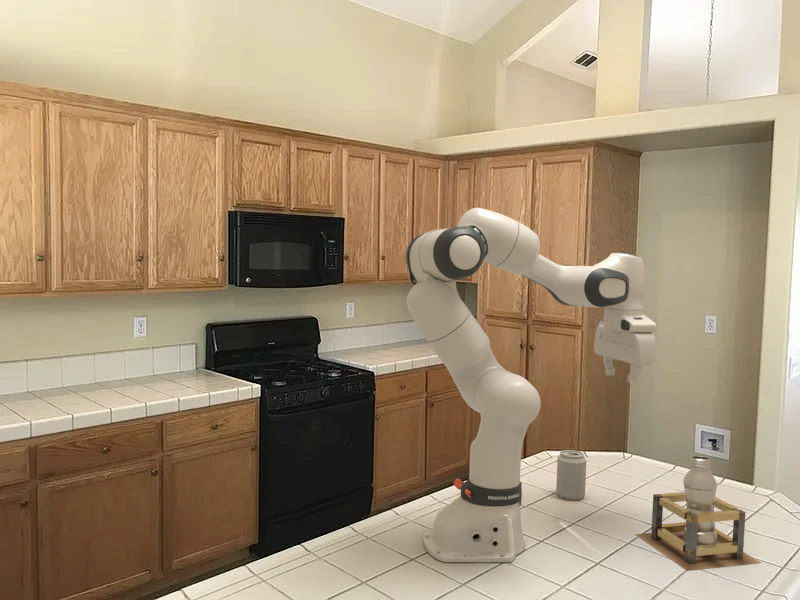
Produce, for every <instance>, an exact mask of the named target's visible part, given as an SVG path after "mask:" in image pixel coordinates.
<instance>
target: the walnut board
mask: <svg viewBox="0 0 800 600" xmlns="http://www.w3.org/2000/svg"><path fill="white" fill-rule="evenodd" d="M672 534H673V535H675V536H677V537H678V538H680V539H681V540H683V541H684V538H683V536H684V532H675V533H672ZM634 535H635V536H636V537H638V538H639V539H641V540H642V541H644V542H645V543H647V544H648V545H649V546H651V547H652V548H653V549H654V550H657V551H658V552H659V553H660V554H662V555H664V556H665V557H666V558H667V559H670V560H671V561H672V562H674V563H675V564H676V565H677V566H679V567H680V568H682V569H684V570H685V571H686V572H689V571H698V570H701V571H702V570H708V569H718V568H720V569H721V568H728V567H737V566H738V567H739V566H745V565H757V564H758V565H759V564H762V562H761V561H759V560H758V559H756V558H754V557H752V556H751V555H750V554H748V553H746V552H744V551H743V559H736V558H734V557H732V553H724V554H714V555H704V556H696V563H695V564H689V563H687V562H686V561H685V552H682V551H680V550H679V549H677V548H676V547H674V546H673V545H671V544H670V543H668V542H667V541H665V540H664V539H662V538H661V540H658V541H655V540H653V539H652V538H651V532H647V533H635V534H634ZM720 543H721V542H719V541H717V544H720Z"/></svg>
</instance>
